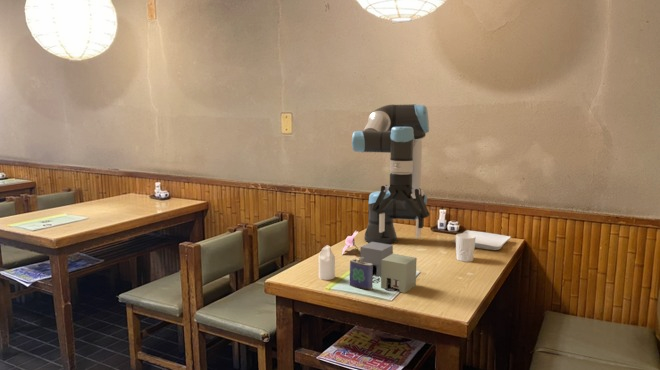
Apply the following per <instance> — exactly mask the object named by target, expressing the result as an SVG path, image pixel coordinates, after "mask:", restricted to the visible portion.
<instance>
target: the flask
mask: <svg viewBox="0 0 660 370" xmlns="http://www.w3.org/2000/svg"><path fill="white" fill-rule="evenodd" d="M363 259H364V258H363V257H362V258H361V257H360V256H359V257H358V258H357V259H356V258H354V259H350V261H349V286H351V287H353V288H356V289H361V290H366V291H367V290H368V291H372V290H373V273H374V272H373V270H374V268H373V264H371V263H366V262H363Z"/></svg>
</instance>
